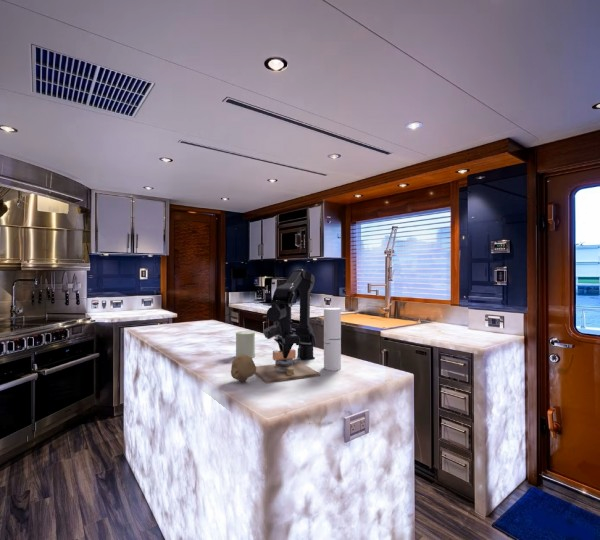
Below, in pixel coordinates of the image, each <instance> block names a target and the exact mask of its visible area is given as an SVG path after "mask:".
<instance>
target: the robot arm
mask: <svg viewBox="0 0 600 540" xmlns="http://www.w3.org/2000/svg"><path fill="white" fill-rule="evenodd" d="M315 279H316V278H315V276H314V274H312V273H311V272H308V271H306V270H304V269H293V271H292V274H291V275H290V276H289V278H288V279H287V280H286V281H285V283H284V284H281V285H279V286H277V287H276V288H275V290H274V292H273V295H272V298H271V302H270V305H271V307H269V308H268V309H267V310H266V311H267V312H266V318H267V320H269V321H270V322H273V323H274V325H271V326H268V327H267V328H265V329H262V331H263V336H264V338H266V339H267V340H271V339H272V338H274V337H275V338H274V339H273V341H275V342H276V344H277V345H278V348H279V351H281V350H283V355H284V358H287V356H288V354H289V352H290V350H292V348H293V346H294V344H295V346H298V348H297V357H296V358H298V359H299V360H302V361H306V360H314V359H316V357H315V356H314V347H315V346H317V339H316V337H315V334H314V328H313V327H312V325H311V323H310V322H311V314H310V313H311V312H310V311H311V292H312V290H313V288H314V285H315V281H316V280H315ZM296 290H298V291H299V324H298V325H297V327H295V333H294V331H292V325H294V321H292V307H293V301H294V298H295V296H296V294H295V291H296Z"/></svg>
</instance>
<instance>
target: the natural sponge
mask: <svg viewBox="0 0 600 540" xmlns="http://www.w3.org/2000/svg"><path fill="white" fill-rule="evenodd" d="M256 366H257V365H256V363H255V361H254V360H253V358H251V357H250V356H248V355H246V354H242V355H238V356H236V355H235V358H233V360H232V363H231V368H230V376H231V377H232V378H233V379H234V380H236V381H238V382H240V383H241V382H246V381H247V380H248V379H250V378H251V377H253V376H254V375H256V374H255V372H256Z"/></svg>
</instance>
